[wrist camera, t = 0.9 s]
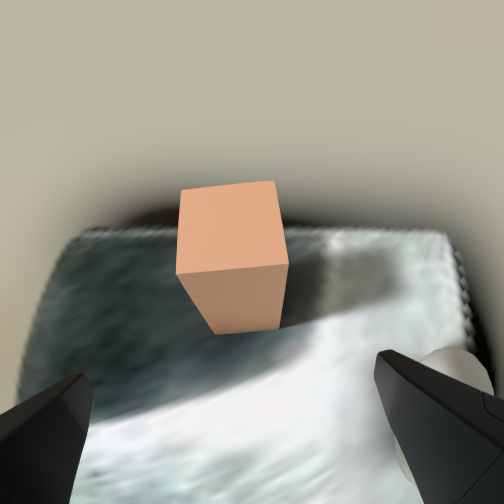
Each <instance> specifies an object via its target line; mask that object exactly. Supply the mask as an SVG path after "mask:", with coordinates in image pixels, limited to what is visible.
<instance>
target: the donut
mask: <svg viewBox="0 0 504 504" xmlns="http://www.w3.org/2000/svg"><path fill="white" fill-rule="evenodd" d="M419 363H421V364H424V365H426V366H428V367H430V368H432V369H434V370H437V371H439V372H441V373H443V374H445V375H448V376H450V377H452V378H454V379H457V380H459V381H461V382H463V383H465V384H468V385H470V386H472V387H475V388H477V389H479V390H481V392H482V391H484V392H486V393H488V394H491V395H493V396H494V392H493V388H492V385H491V382H490V379H489V376H488V374H487V371H486V369H485V368H484V367H483V365H482V364H481V363H480V362H479V361H478V359H477V358H476V357H475V356H474V355H472V354H471V353H469V352H466V351H464V350H462V349H460V348H455V347H450V348H444V349H438V350H435V351H433V352H432V353H430V354H429V355H427V356H426V357H425V358H423V359H422V360H420V361H419ZM394 440H395V450H396V456H397V460H398V463H399V467H400V469H401V470H402V472H403V474H404V475H405V477H406V478H407V479H408V481H410V482H411V483H412V484H414V485H415V486H417V485H416V483H415V480H414V478H413V476H412V473H411V471H410V468H409V466H408V464H407V462H406V459H405V457H404V455H403V452H402V450H401V448H400V446H399V444H398V441H397V439H396V437H395V435H394Z"/></svg>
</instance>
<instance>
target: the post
mask: <svg viewBox="0 0 504 504" xmlns="http://www.w3.org/2000/svg"><path fill="white" fill-rule="evenodd" d="M179 214H180V215H179V227H178V243H177V262H176V275H177V277H178V278H179V280H180V281H181V283H182V285H183V286H184V288H185V289H186V291H187V292H188V294H189V296H190V297H191V299H192V300H193V302H194V303H195V305H196V306H197V308H198V310H199V311H200V313H201V314H202V316H203V317H204V319H205V320H206V322H207V323H208V325H209V326H210V328H211V329H212V331H213V332H214V334H215V335H217V334H231V333H243V332H254V331H265V330H274V329H279V325H280V319H281V312H282V306H283V300H284V293H285V286H286V279H287V272H288V265H289V262H288V256H287V250H286V244H285V238H284V232H283V227H282V221H281V215H280V210H279V204H278V199H277V193H276V188H275V183H274V181H262V182H250V183H240V184H230V185H222V186H213V187H204V188H196V189H188V190H182V191H181V201H180V213H179Z"/></svg>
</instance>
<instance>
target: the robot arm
mask: <svg viewBox="0 0 504 504" xmlns="http://www.w3.org/2000/svg"><path fill="white" fill-rule="evenodd" d="M374 380H375V383H376V386H377V389H378V392H379V395H380V398H381V401H382V404H383V407H384V410H385V413H386V416H387V419H388V421H389V424H390V426H391V428H392V430H393V433H394V435H395V437H396V439H397V441H398V444H399V446H400V448H401V450H402V452H403V455H404V457H405V459H406V462H407V464H408V466H409V468H410V471H411V473H412V476H413V478H414V480H415V483H416V485H417V487H418V490H419V492H420V495H421V497H422V500H423V502H424V504H504V400H503V399H501V398H498V397H495V396H493V395H491V394H488V393H486V392H484V391H482V392H481V390H479V389H477V388H475V387H472V386H470V385H468V384H465V383H463V382H461V381H459V380H457V379H454V378H452V377H450V376H448V375H445V374H443V373H441V372H439V371H437V370H434V369H432V368H430V367H428V366H426V365H424V364H421V363H419V362H417V361H415V360H413V359H411V358H409V357H406V356H404V355H402V354H400V353H398V352H396V351H394V350H391V349H389V350H385V351H380V352H379V353H378V354H377V357H376V363H375V369H374ZM93 403H94V392H93V390H92V388H91V386H90V384H89V382H88V380H87V378H86V376H85V375H84V374H82V373H71V374H70V375H68V376H66V377H64V378H63V379H61V380H59V381H58V382H56V383H54V384H53V385H51V386H49V387H47V388H46V389H44V390H42V391H41V392H39V393H37V394H35V395H34V396H32V397H30V398H29V399H27V400H25V401H23V402H22V403H20V404H18V405H16V406H15V407H13V408H11V409H10V410H8V411H6V412H4V413H3V414H1V415H0V504H69V502H70V498H71V493H72V489H73V485H74V481H75V477H76V473H77V469H78V465H79V462H80V458H81V454H82V451H83V447H84V444H85V441H86V437H87V432H88V428H89V422H90V417H91V413H92V408H93Z"/></svg>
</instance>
